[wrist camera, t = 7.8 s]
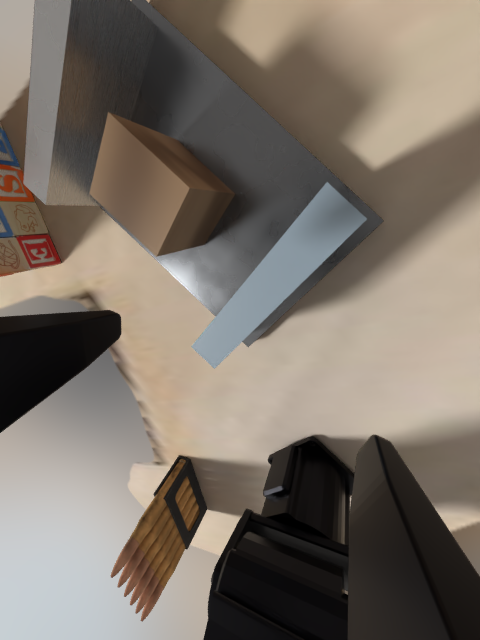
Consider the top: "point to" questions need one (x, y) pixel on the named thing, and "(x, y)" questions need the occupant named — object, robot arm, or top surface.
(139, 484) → the top surface
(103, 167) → the walnut block
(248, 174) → the vise base
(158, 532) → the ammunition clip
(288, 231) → the plate
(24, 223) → the stack of blocks
